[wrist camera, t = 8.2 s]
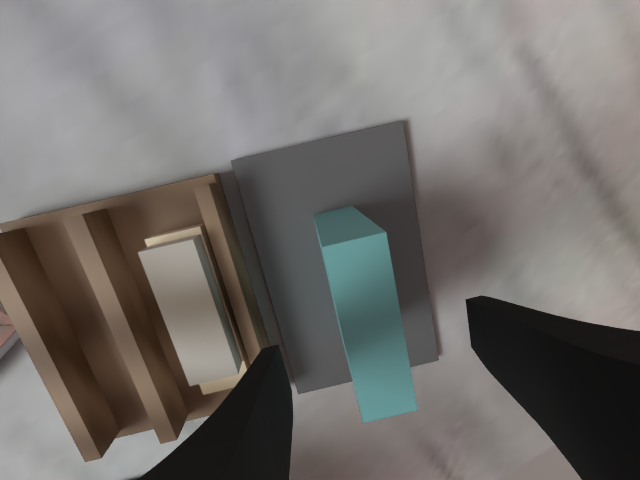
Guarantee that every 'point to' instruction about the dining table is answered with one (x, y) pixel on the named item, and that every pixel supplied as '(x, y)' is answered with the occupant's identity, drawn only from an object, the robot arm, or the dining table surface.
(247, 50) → the dining table surface
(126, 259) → the walnut rack
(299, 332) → the rubber mat
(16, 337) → the picture frame
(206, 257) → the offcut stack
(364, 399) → the teal block
